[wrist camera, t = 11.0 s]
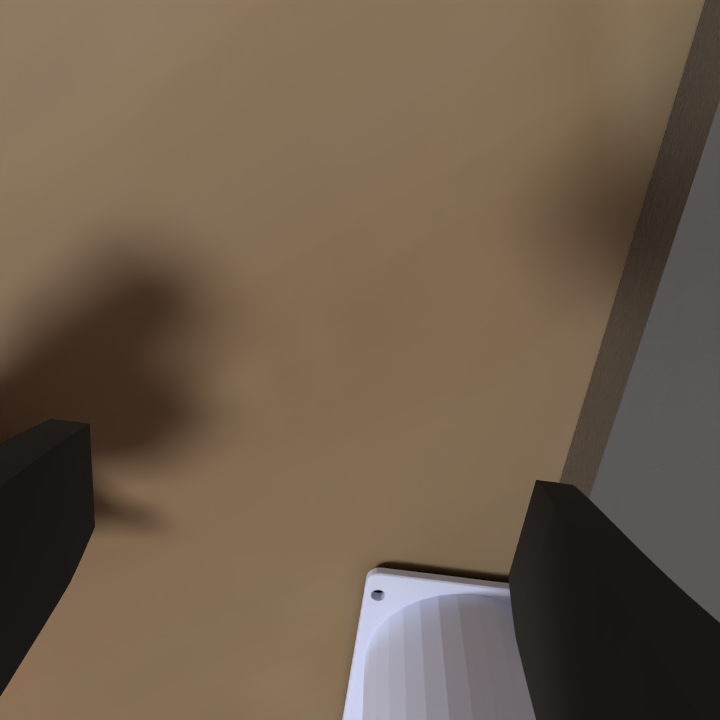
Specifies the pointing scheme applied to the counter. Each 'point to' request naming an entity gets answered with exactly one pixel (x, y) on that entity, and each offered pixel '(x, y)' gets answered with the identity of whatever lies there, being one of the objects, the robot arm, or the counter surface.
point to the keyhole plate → (666, 353)
